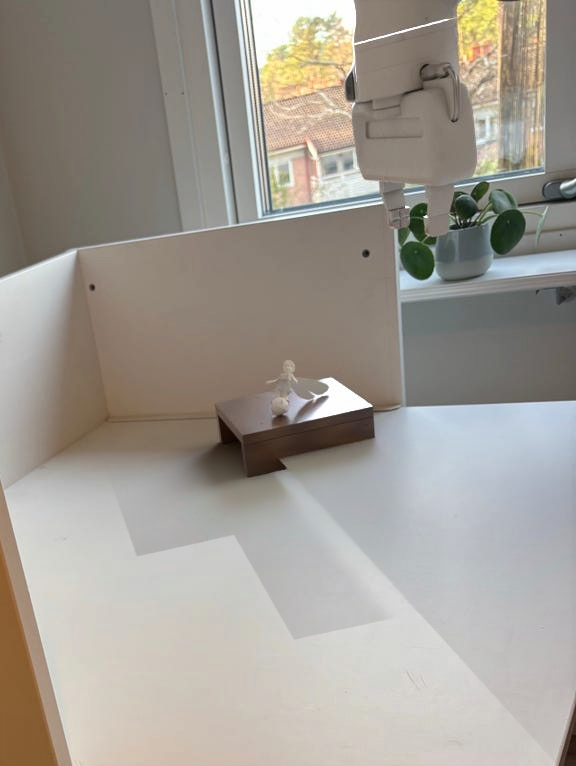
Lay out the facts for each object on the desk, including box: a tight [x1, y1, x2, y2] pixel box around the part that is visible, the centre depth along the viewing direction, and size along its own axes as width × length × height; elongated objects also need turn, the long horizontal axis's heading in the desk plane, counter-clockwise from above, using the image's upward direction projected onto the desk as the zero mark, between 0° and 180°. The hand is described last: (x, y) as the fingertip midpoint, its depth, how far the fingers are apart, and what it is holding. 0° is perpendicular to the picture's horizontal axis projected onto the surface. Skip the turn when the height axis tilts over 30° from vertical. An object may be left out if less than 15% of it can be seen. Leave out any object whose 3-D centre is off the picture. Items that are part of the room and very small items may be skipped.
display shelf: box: [214, 376, 376, 478], centre depth 115 cm, size 15×15×5 cm
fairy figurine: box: [265, 359, 329, 416], centre depth 113 cm, size 6×7×7 cm
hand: (417, 231), depth 93 cm, fingers open, 8 cm apart
